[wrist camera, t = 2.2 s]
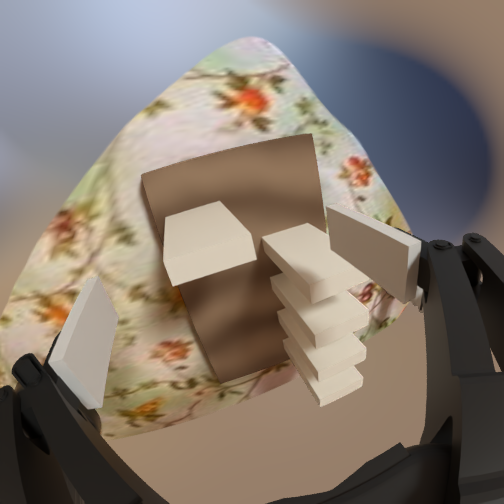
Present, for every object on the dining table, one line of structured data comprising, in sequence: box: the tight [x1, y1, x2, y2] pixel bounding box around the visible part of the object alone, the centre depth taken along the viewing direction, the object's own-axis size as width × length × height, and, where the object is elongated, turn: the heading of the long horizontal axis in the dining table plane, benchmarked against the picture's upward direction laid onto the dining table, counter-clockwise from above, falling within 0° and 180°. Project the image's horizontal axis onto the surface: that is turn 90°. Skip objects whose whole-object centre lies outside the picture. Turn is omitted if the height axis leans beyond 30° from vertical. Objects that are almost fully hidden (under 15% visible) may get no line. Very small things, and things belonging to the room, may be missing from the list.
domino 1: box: [163, 201, 257, 286], centre depth 20 cm, size 2×5×10 cm, turn 102°
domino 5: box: [283, 338, 363, 407], centre depth 28 cm, size 2×5×10 cm, turn 102°
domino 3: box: [270, 273, 369, 349], centre depth 25 cm, size 2×5×10 cm, turn 102°
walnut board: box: [141, 134, 327, 384], centre depth 29 cm, size 26×16×2 cm, turn 12°
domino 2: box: [262, 223, 370, 304], centre depth 23 cm, size 2×5×10 cm, turn 103°
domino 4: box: [277, 308, 367, 382], centre depth 27 cm, size 2×5×10 cm, turn 102°
